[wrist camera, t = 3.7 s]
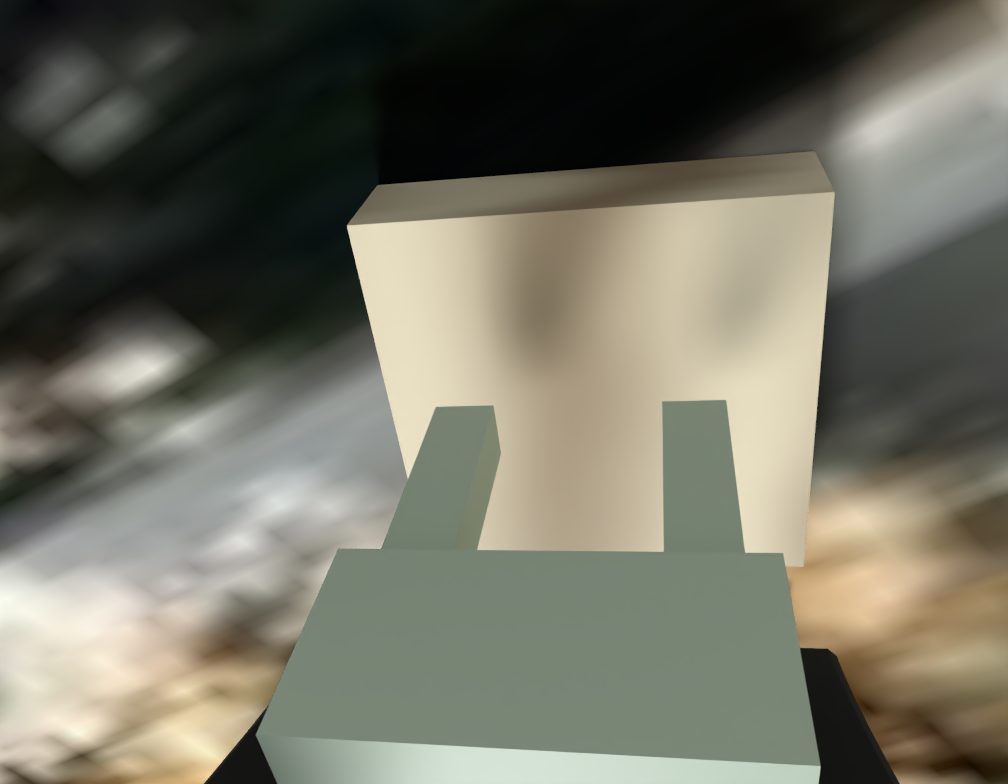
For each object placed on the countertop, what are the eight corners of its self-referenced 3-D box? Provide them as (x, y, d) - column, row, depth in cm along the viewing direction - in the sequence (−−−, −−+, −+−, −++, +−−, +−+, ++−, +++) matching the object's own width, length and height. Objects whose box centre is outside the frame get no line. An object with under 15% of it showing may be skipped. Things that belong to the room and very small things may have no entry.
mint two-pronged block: (752, 377, 12) (820, 765, 7) (744, 626, 15) (790, 1036, 10) (409, 388, 13) (255, 734, 8) (460, 619, 16) (368, 987, 11)
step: (814, 151, 15) (834, 192, 13) (790, 502, 19) (803, 565, 18) (377, 184, 16) (346, 225, 15) (445, 503, 21) (427, 562, 19)
